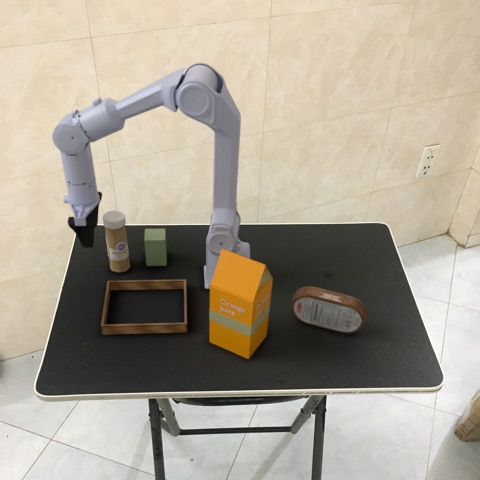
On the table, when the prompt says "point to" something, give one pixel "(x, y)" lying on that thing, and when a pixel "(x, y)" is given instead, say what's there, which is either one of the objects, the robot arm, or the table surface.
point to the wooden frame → (148, 326)
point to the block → (155, 247)
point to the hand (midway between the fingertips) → (90, 236)
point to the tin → (329, 310)
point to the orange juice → (239, 303)
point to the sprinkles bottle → (116, 241)
